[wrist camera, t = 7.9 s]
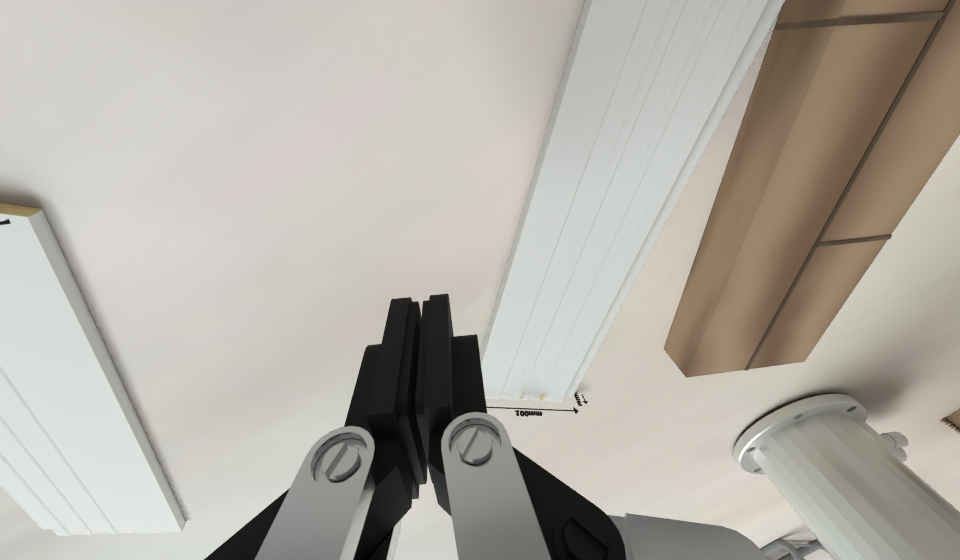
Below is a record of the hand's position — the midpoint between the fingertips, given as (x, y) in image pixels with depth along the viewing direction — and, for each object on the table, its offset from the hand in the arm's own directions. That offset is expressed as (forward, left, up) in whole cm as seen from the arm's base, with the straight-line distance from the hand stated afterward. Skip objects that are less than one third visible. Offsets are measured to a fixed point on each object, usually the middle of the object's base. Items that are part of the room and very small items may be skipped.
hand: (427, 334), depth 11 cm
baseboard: (-10, +1, -10) cm, 14 cm away
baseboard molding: (+27, +11, -10) cm, 31 cm away
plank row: (-21, -1, -9) cm, 23 cm away
